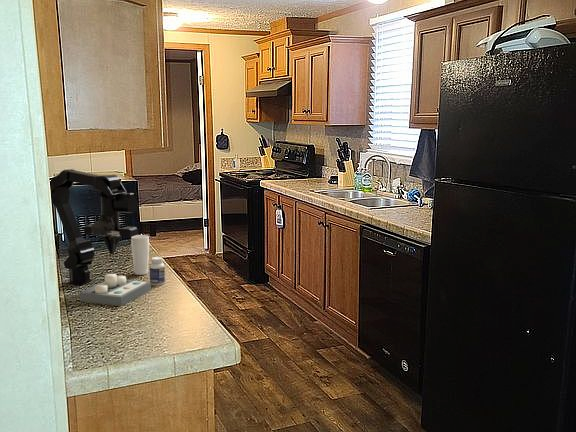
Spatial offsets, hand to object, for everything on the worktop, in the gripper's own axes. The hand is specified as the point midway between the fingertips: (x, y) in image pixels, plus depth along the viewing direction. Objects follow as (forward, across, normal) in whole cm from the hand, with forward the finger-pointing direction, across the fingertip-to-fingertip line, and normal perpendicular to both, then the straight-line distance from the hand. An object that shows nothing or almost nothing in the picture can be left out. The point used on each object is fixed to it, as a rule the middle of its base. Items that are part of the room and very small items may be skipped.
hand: (112, 254), depth 192 cm
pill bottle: (+13, +12, +10) cm, 20 cm away
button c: (+12, +4, -1) cm, 12 cm away
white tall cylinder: (+13, -1, +20) cm, 24 cm away
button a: (+12, +4, -12) cm, 17 cm away
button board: (+12, +6, -7) cm, 16 cm away
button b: (+9, +4, -7) cm, 12 cm away
